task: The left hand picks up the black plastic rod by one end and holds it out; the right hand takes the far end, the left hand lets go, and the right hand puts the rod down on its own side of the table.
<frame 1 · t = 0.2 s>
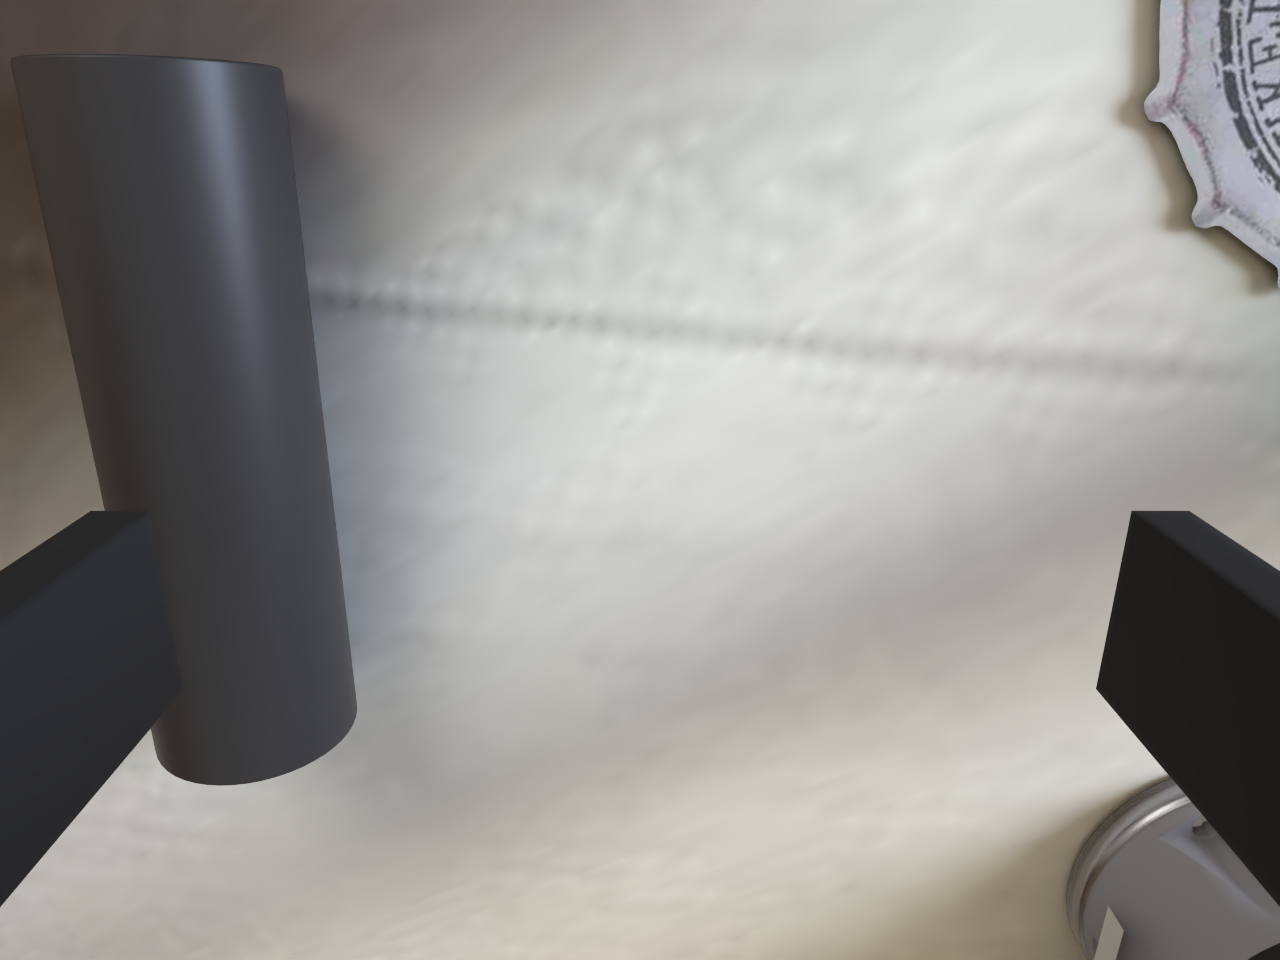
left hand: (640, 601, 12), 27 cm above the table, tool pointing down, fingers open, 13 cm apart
rod: (255, 408, 40), on the table
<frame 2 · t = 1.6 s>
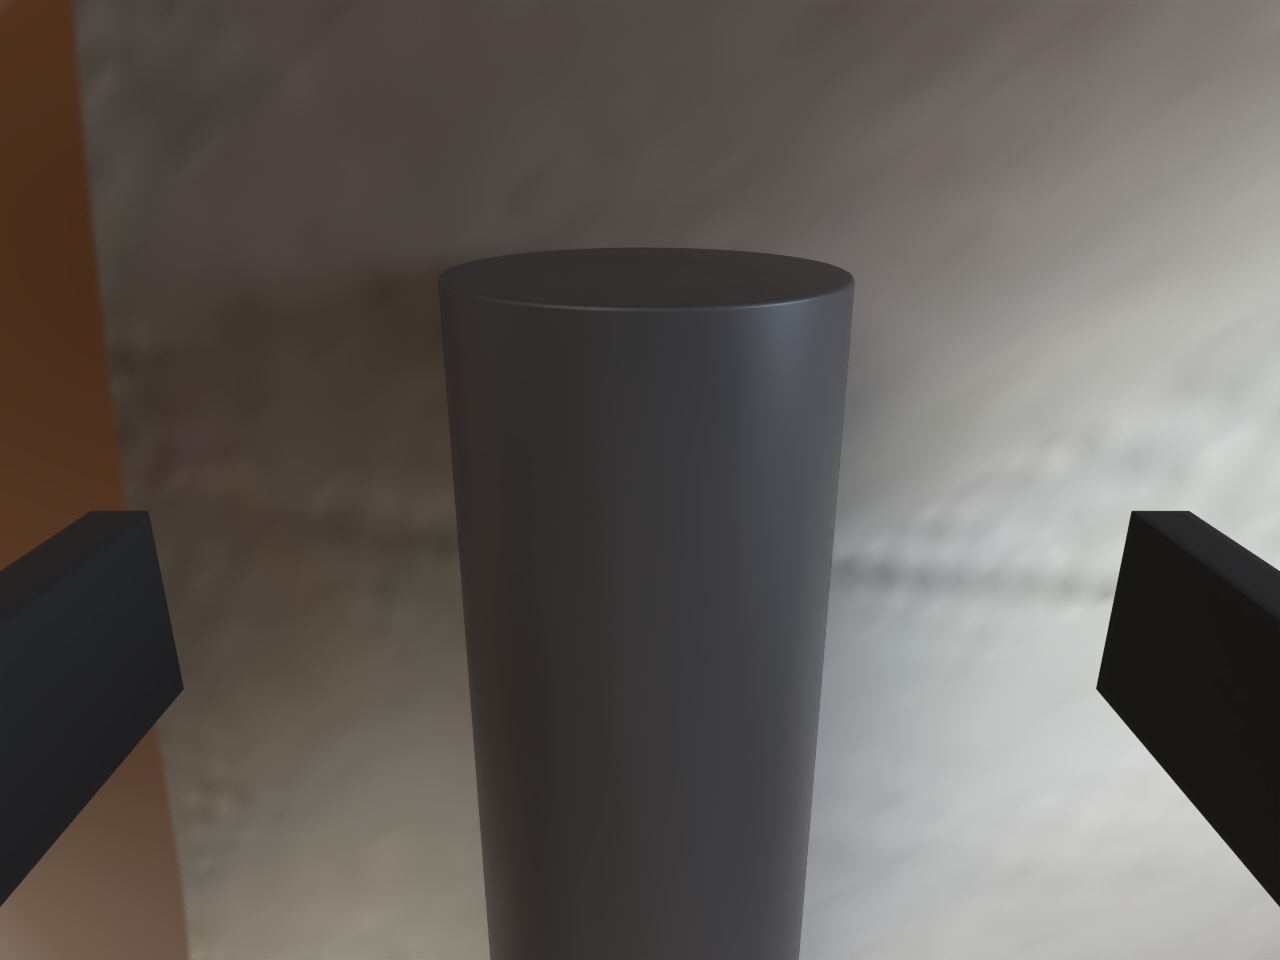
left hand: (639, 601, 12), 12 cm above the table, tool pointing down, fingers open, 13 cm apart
rod: (644, 708, 27), on the table
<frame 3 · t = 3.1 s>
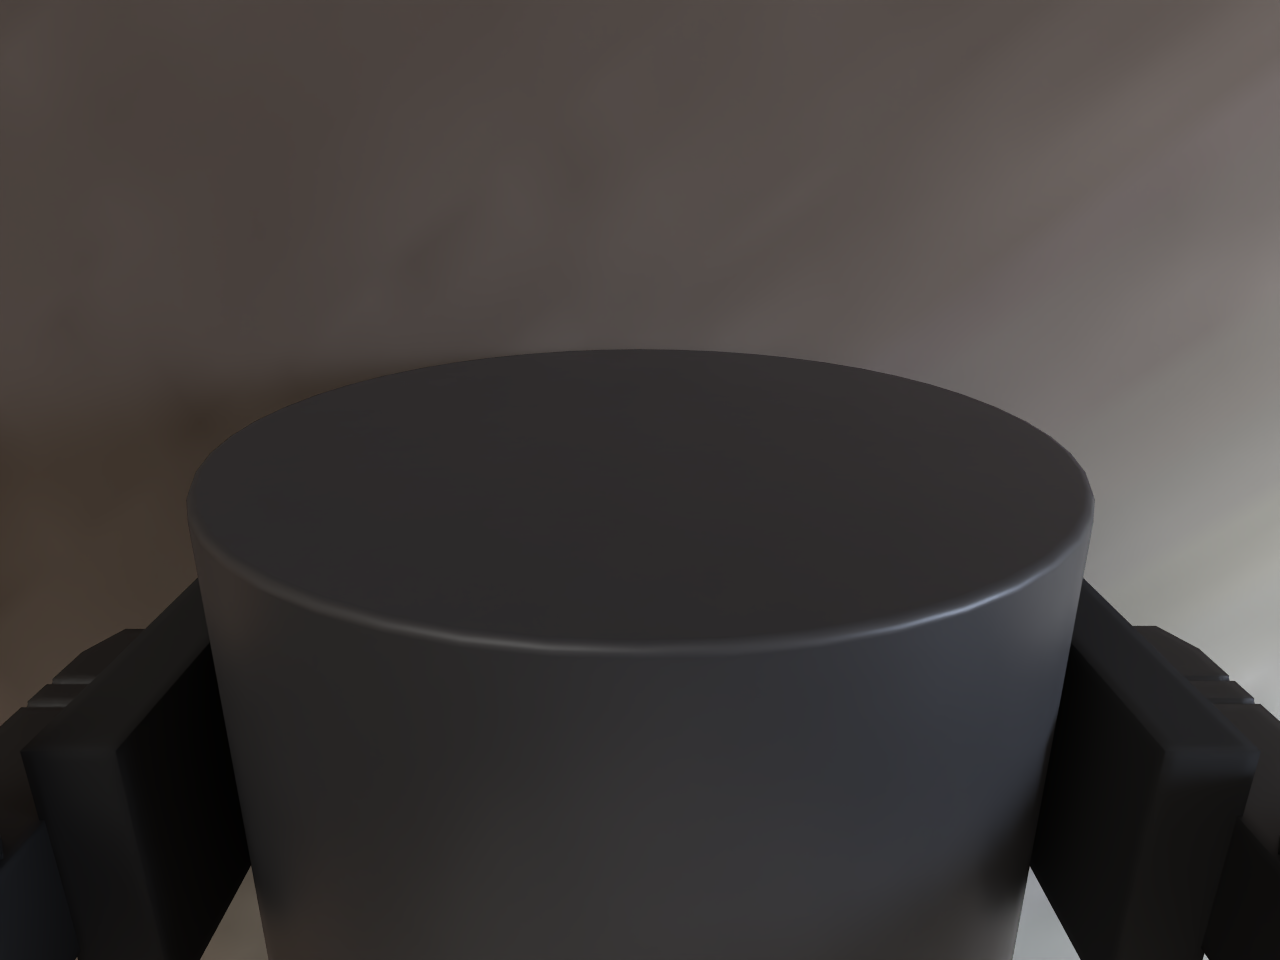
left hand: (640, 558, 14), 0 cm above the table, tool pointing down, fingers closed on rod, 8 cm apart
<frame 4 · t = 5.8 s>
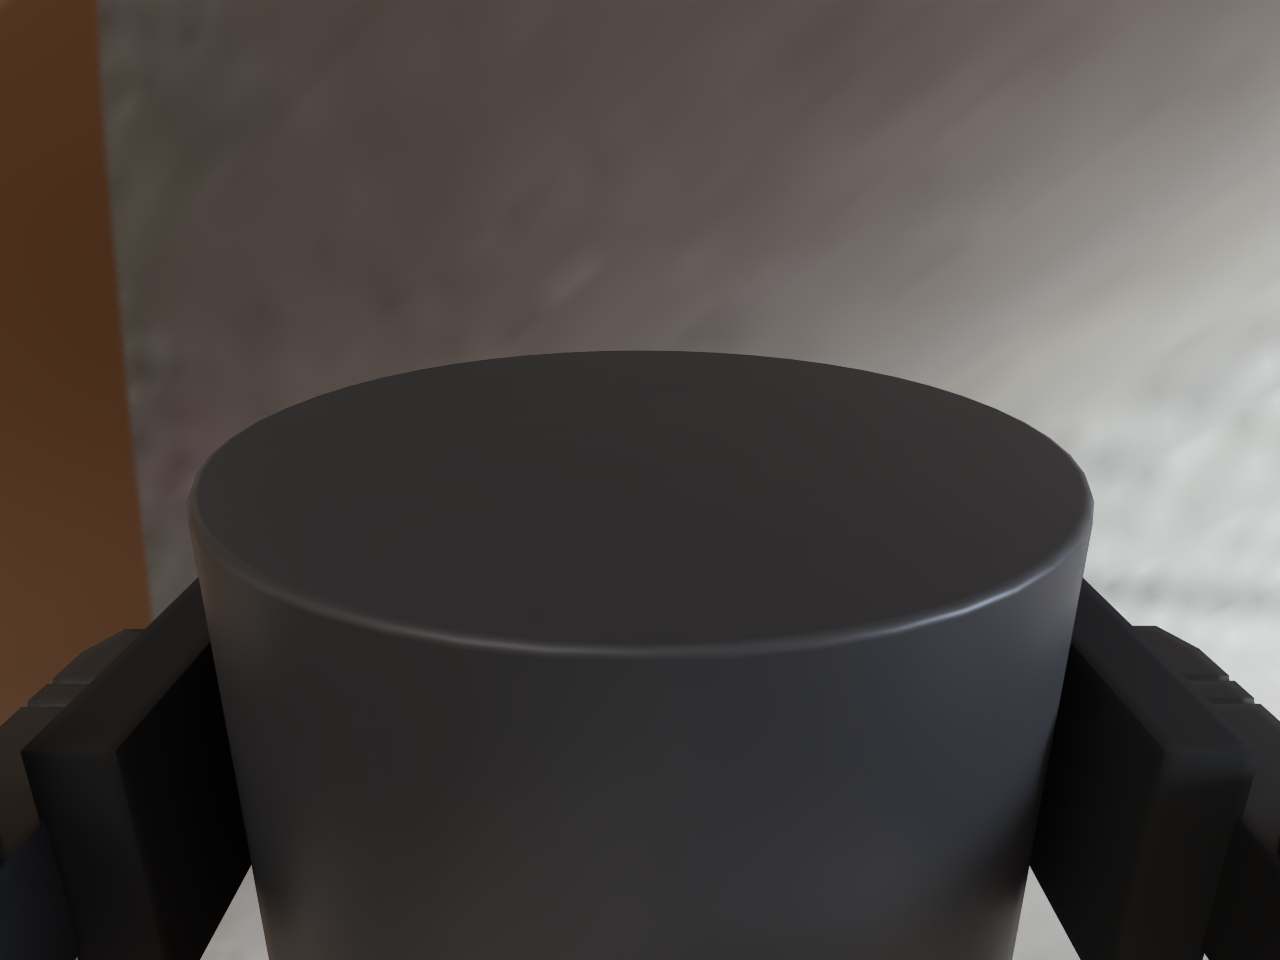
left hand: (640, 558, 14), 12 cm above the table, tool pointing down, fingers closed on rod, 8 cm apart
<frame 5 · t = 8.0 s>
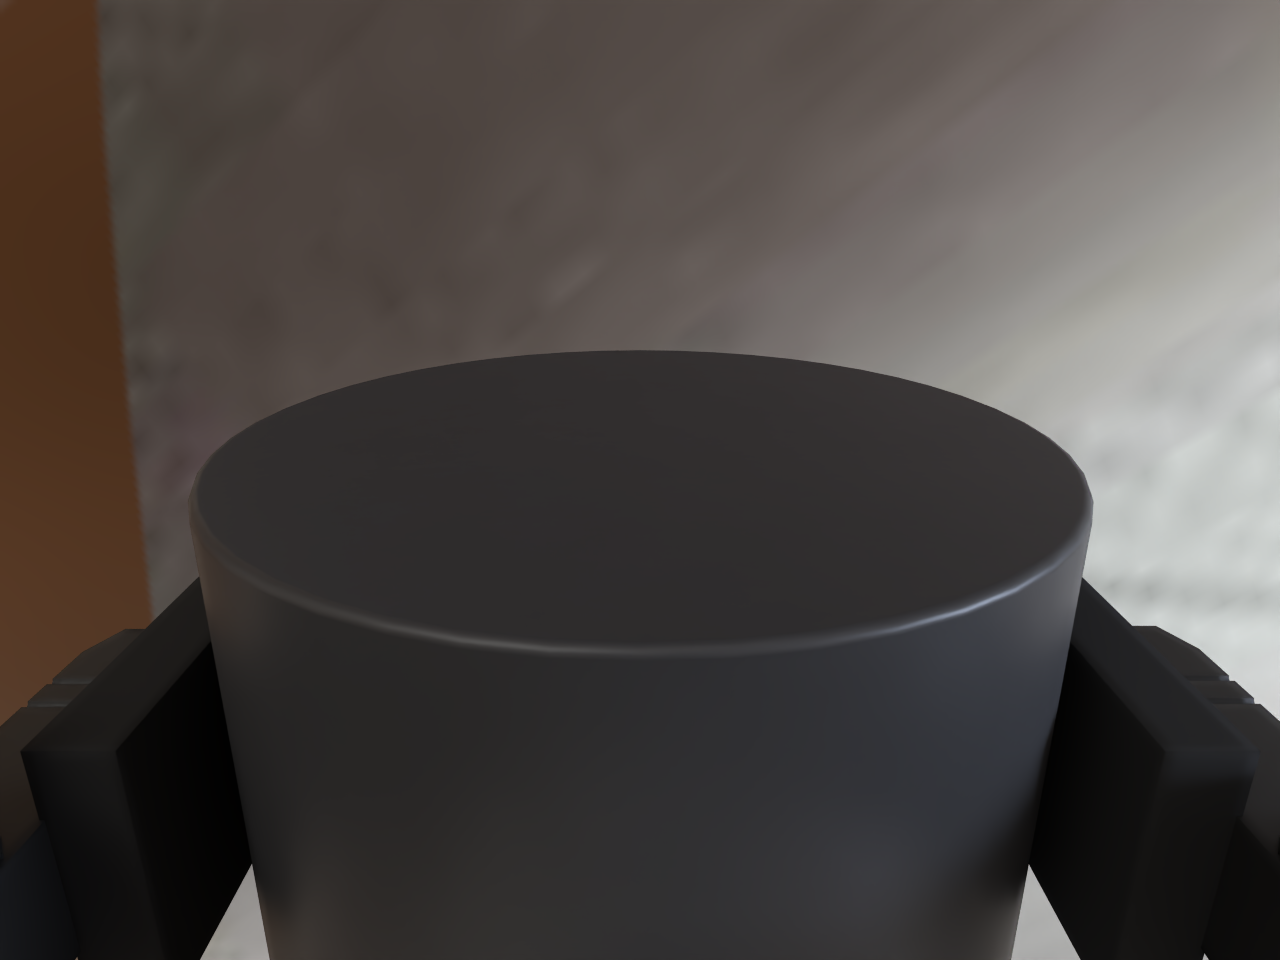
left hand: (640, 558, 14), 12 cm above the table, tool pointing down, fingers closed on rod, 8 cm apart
when the left hand's fingers open (12 cm above the table, at t = 8.9 s): rod stays where it is, held by the right hand.
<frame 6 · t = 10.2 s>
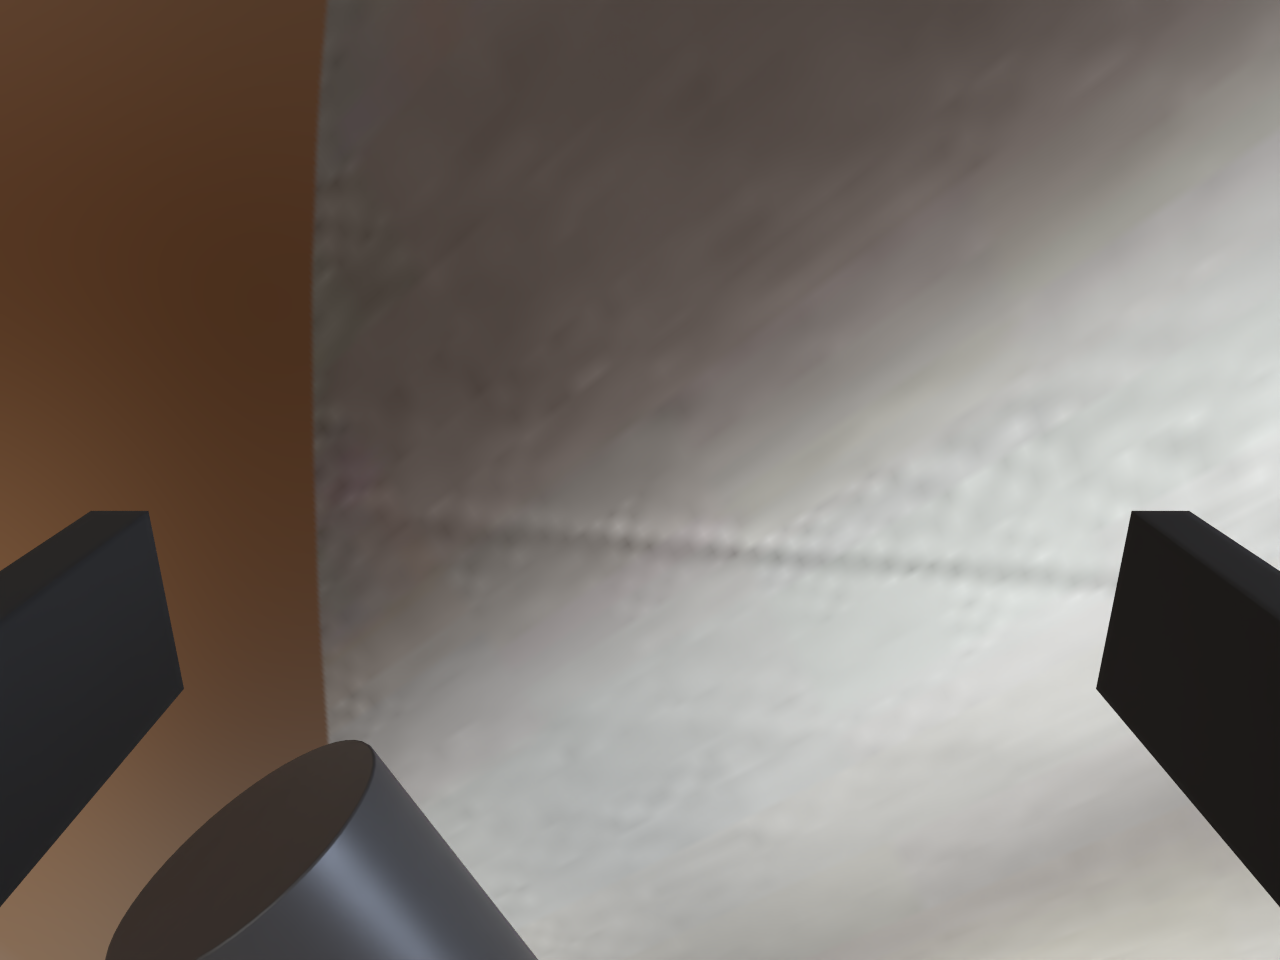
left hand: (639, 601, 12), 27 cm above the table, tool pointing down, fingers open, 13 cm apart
when the right hand's fingers open (2 cm above the table, at t = 12.8 s): rod drops 2 cm, on the table.
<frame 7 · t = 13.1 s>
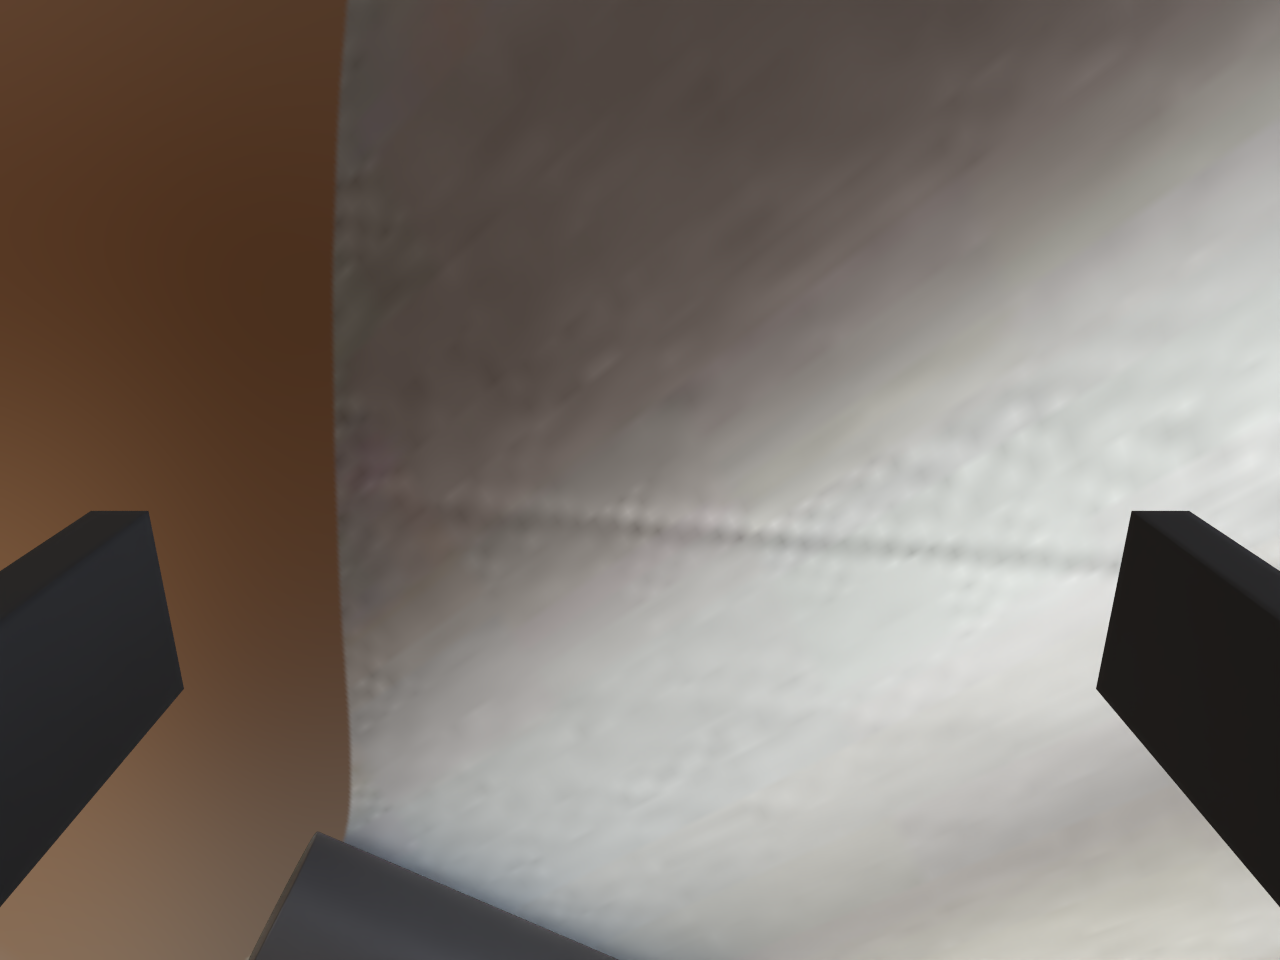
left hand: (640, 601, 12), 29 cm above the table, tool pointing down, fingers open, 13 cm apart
rod: (522, 944, 52), on the table
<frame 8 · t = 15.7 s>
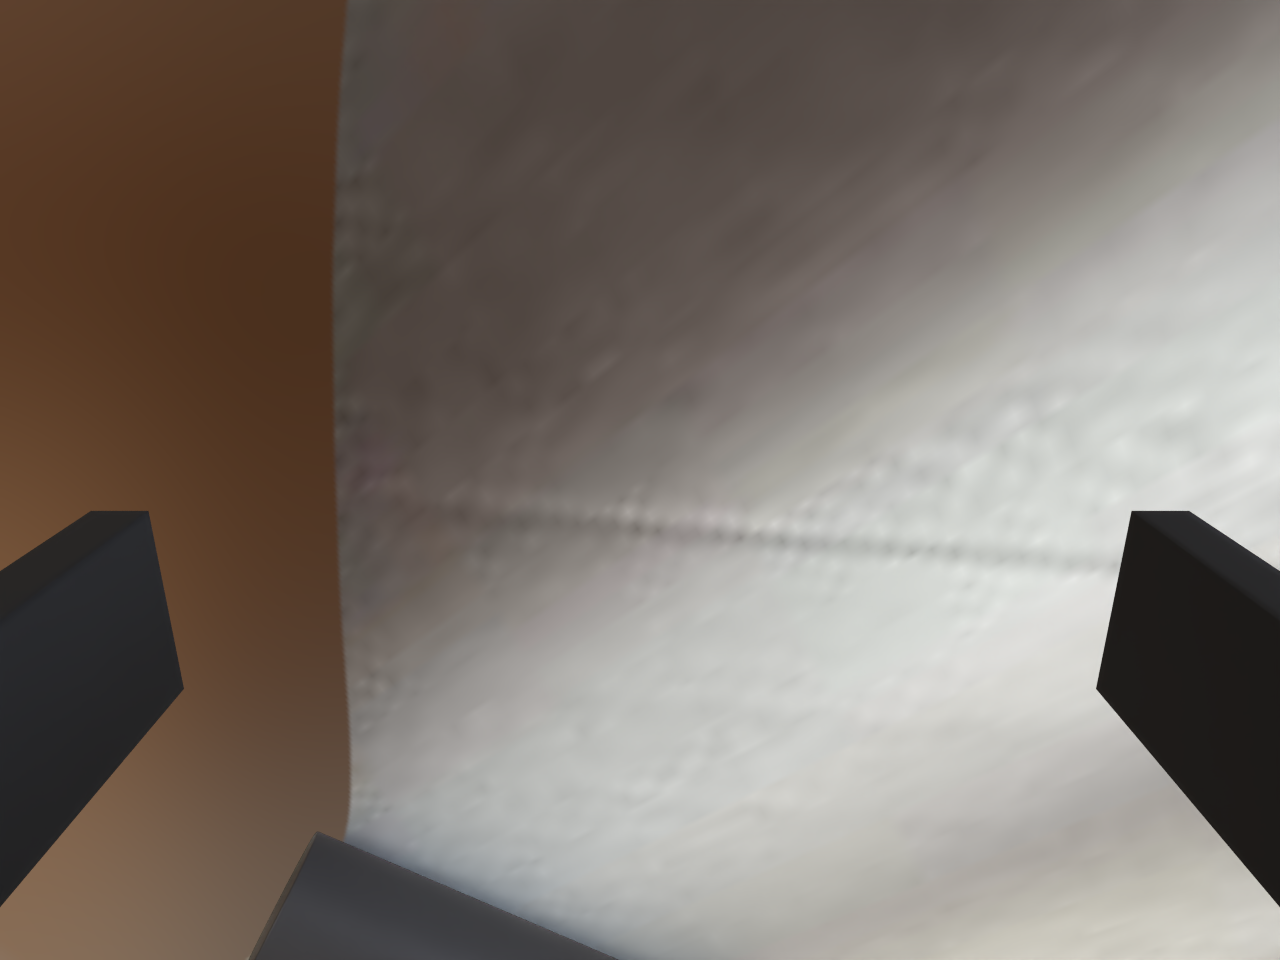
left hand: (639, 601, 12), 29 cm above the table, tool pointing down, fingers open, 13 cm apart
rod: (522, 944, 52), on the table
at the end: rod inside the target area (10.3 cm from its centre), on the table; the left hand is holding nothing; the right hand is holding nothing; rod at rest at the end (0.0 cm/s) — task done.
